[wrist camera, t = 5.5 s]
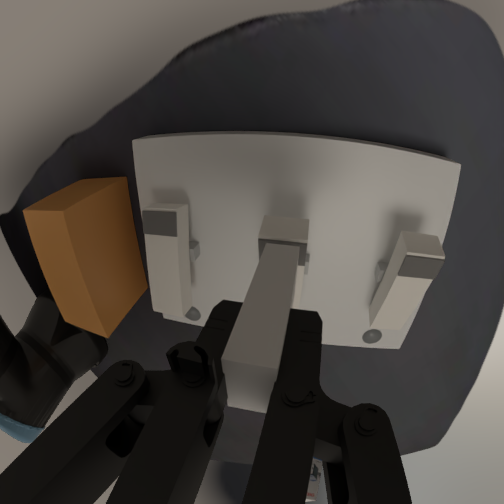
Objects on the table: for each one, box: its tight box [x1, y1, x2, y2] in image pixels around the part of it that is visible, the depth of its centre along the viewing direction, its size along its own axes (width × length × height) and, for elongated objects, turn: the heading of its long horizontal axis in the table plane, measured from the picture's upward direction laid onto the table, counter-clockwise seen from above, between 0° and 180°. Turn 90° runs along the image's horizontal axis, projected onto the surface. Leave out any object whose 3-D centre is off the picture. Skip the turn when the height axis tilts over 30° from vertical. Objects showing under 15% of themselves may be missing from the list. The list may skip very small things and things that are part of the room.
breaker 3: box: [369, 231, 445, 330], centre depth 16 cm, size 3×8×2 cm, turn 0°
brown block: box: [23, 177, 148, 338], centre depth 22 cm, size 6×12×8 cm, turn 0°
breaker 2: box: [258, 215, 309, 309], centre depth 18 cm, size 3×8×2 cm, turn 0°
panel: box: [132, 131, 461, 349], centre depth 20 cm, size 23×17×4 cm
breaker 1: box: [142, 203, 192, 317], centre depth 19 cm, size 3×8×2 cm, turn 0°
